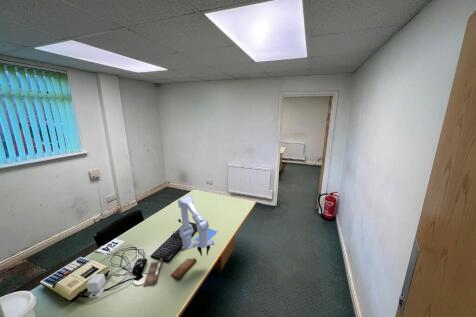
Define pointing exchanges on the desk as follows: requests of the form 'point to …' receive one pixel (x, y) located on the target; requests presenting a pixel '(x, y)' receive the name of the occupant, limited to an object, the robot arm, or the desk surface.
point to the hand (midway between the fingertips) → (204, 254)
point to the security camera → (96, 285)
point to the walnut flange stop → (153, 273)
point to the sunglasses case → (183, 268)
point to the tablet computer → (208, 234)
